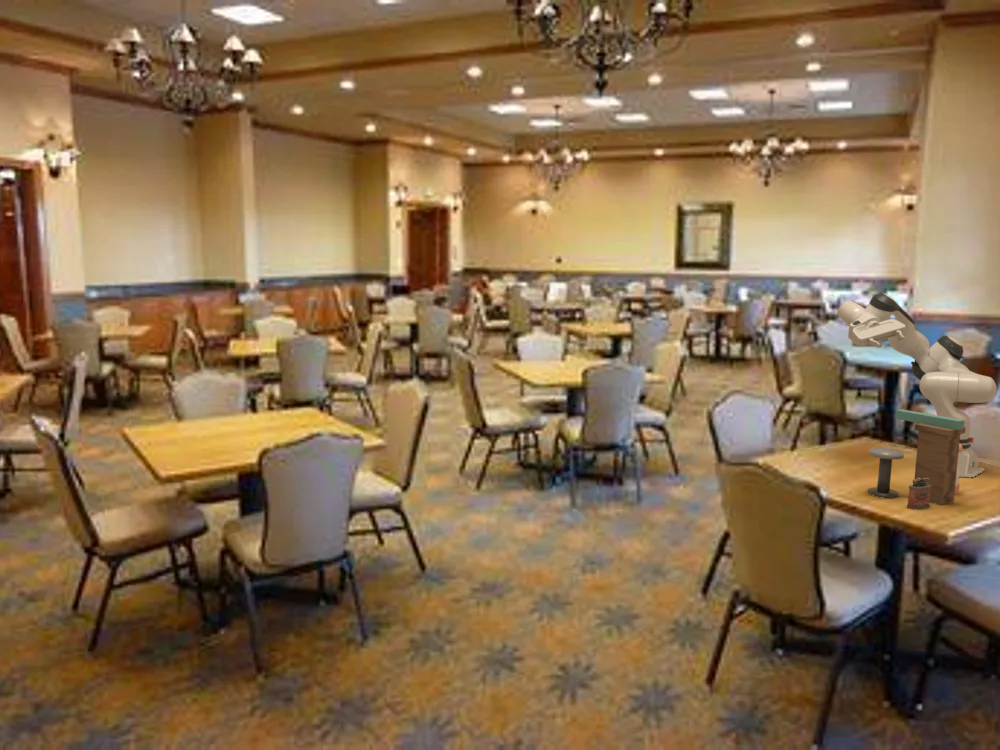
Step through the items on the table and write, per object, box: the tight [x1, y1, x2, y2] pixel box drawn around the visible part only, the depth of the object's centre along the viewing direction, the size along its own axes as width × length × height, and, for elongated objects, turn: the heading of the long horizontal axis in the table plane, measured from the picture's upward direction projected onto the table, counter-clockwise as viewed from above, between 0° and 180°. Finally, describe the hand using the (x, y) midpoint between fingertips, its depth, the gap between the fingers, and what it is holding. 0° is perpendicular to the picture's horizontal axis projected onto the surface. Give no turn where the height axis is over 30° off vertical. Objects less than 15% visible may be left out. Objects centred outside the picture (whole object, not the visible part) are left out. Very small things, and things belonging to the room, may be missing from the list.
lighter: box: [906, 478, 931, 510], centre depth 281 cm, size 8×3×10 cm, turn 105°
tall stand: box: [914, 423, 966, 506], centre depth 288 cm, size 10×12×26 cm
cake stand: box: [867, 447, 905, 499], centre depth 295 cm, size 11×11×16 cm
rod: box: [894, 408, 964, 430], centre depth 289 cm, size 4×22×3 cm, turn 35°
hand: (891, 342), depth 316 cm, fingers open, 8 cm apart
